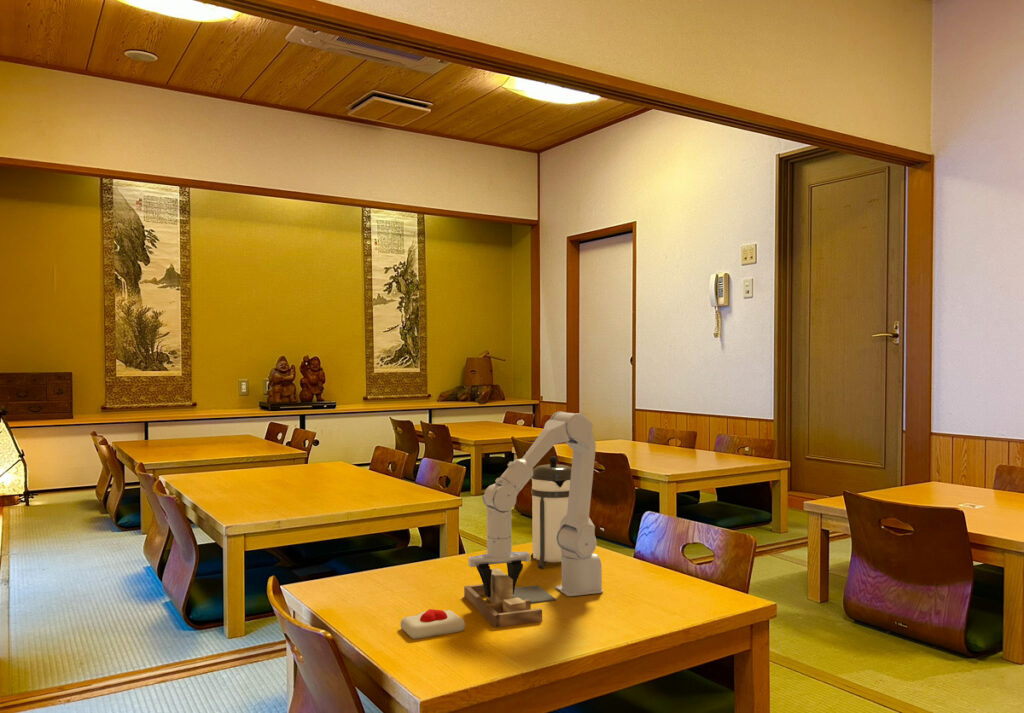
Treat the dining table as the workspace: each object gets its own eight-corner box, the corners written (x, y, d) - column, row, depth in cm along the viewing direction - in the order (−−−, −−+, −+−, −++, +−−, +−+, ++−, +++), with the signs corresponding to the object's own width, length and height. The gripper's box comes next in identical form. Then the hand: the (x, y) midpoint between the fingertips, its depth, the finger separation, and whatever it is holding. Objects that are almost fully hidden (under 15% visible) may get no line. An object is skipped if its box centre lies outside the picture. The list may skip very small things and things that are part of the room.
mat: (537, 586, 193) (537, 585, 193) (556, 600, 182) (556, 599, 182) (503, 590, 190) (503, 588, 190) (520, 604, 179) (520, 603, 179)
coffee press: (592, 560, 218) (592, 455, 218) (560, 572, 206) (560, 460, 206) (543, 551, 229) (542, 450, 229) (509, 562, 216) (509, 456, 217)
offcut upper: (518, 606, 172) (518, 597, 172) (525, 611, 169) (525, 602, 169) (502, 608, 171) (502, 599, 171) (510, 613, 167) (510, 604, 167)
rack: (507, 591, 189) (507, 581, 189) (542, 621, 167) (542, 609, 167) (464, 596, 185) (464, 586, 185) (494, 627, 164) (494, 615, 164)
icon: (449, 599, 170) (467, 612, 162) (449, 618, 170) (467, 632, 162) (396, 607, 165) (411, 621, 156) (396, 627, 165) (411, 642, 156)
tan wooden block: (498, 597, 184) (498, 568, 185) (512, 610, 175) (512, 579, 175) (486, 599, 183) (486, 569, 184) (500, 611, 174) (500, 580, 174)
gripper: (522, 530, 186) (522, 586, 185) (464, 535, 181) (464, 593, 181) (532, 536, 179) (533, 595, 179) (473, 541, 174) (473, 601, 174)
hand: (499, 594), depth 179 cm, fingers open, 5 cm apart
